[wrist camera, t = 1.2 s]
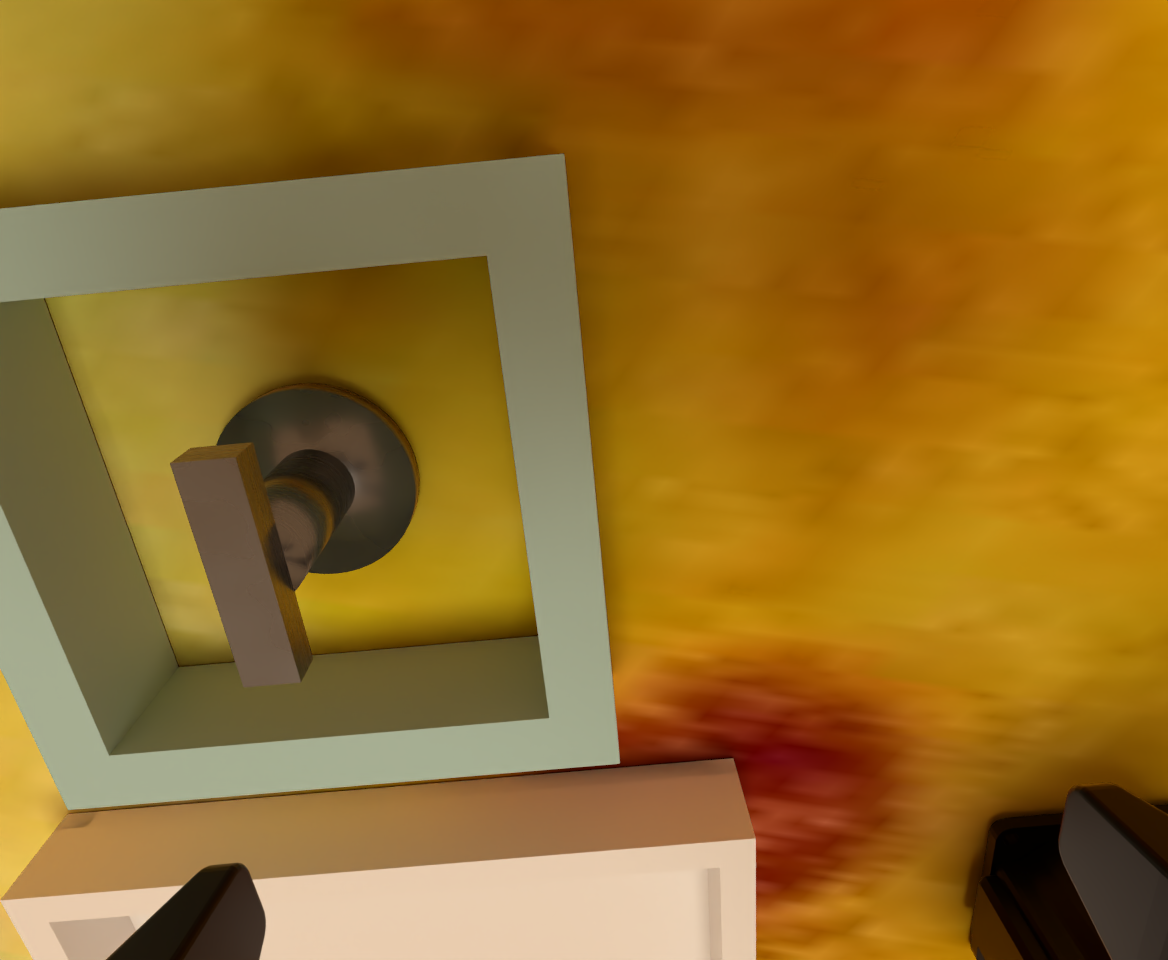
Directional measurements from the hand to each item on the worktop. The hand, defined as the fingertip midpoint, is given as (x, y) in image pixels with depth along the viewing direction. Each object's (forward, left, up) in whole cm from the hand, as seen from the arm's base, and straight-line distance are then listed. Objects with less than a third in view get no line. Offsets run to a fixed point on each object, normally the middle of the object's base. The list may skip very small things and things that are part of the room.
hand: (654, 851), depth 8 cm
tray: (+7, +21, -12) cm, 25 cm away
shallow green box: (+7, 0, -12) cm, 14 cm away
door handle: (+7, 0, -12) cm, 14 cm away
